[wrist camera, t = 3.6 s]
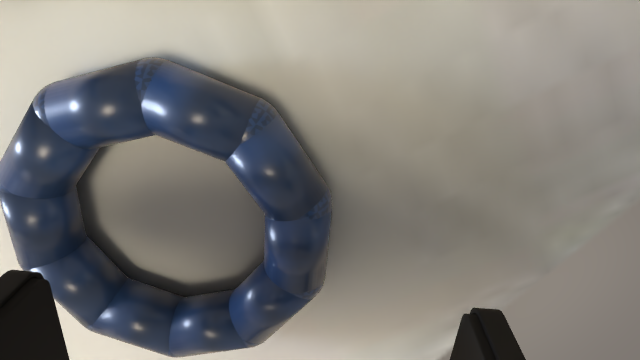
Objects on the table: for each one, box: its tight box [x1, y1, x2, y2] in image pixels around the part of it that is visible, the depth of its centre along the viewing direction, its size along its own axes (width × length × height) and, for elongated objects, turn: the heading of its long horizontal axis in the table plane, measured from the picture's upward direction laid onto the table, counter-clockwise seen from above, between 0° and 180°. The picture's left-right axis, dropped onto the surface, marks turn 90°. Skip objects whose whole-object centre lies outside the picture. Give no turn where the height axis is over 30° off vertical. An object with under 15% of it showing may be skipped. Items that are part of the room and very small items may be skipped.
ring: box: [0, 58, 332, 357], centre depth 13 cm, size 10×10×2 cm
